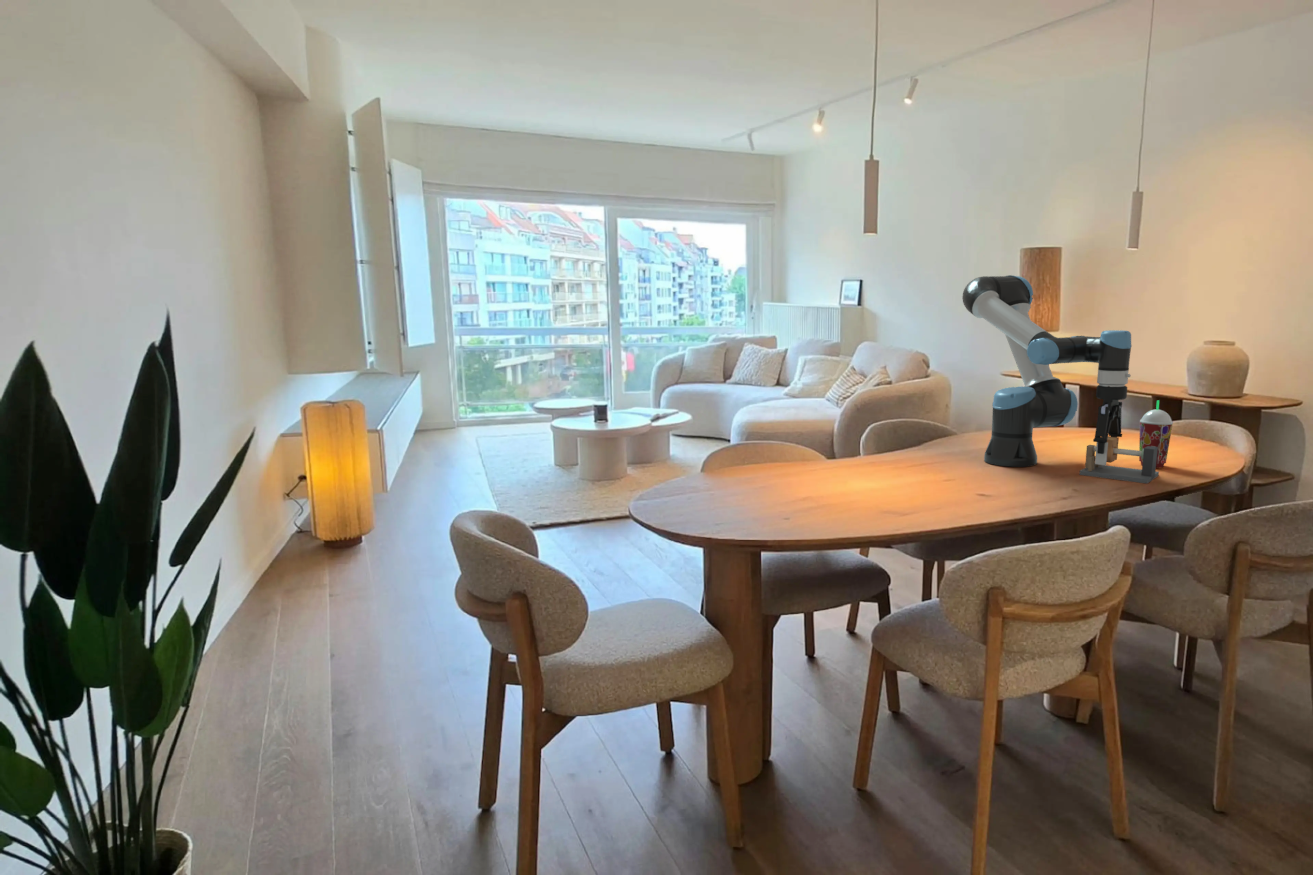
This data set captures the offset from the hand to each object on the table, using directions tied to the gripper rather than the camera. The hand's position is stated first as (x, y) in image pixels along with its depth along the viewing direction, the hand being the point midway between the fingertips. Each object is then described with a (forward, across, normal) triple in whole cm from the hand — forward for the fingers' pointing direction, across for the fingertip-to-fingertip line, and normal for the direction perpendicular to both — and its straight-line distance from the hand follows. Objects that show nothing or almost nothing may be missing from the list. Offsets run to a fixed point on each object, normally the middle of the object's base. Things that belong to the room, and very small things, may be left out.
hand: (1106, 461), depth 218 cm
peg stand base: (+4, 0, -4) cm, 5 cm away
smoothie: (+4, +19, -8) cm, 21 cm away
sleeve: (0, 0, 0) cm, 0 cm away
